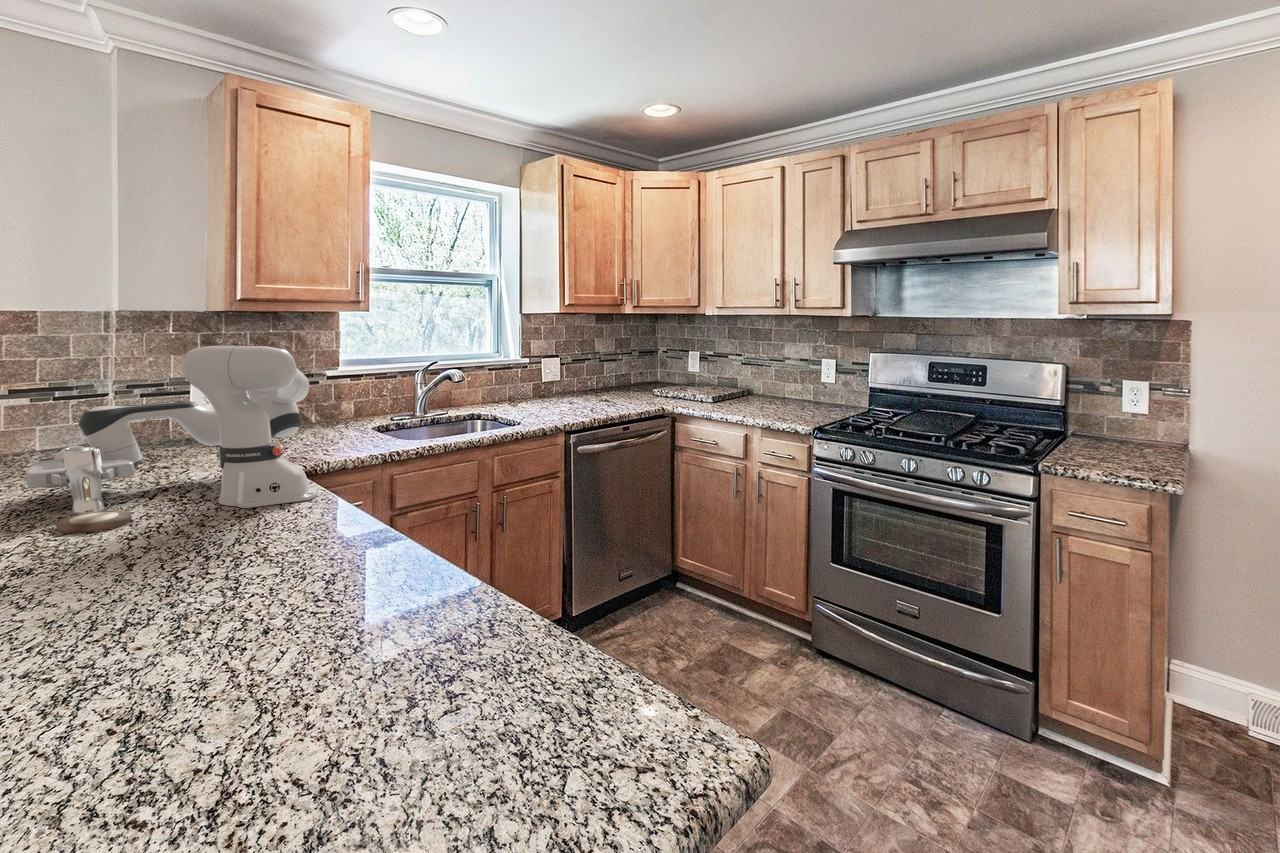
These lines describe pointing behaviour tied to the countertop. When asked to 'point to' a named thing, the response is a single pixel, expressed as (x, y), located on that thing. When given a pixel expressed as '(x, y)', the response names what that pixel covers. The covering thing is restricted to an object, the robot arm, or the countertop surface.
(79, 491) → the beer glass
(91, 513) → the walnut board
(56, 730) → the countertop surface
